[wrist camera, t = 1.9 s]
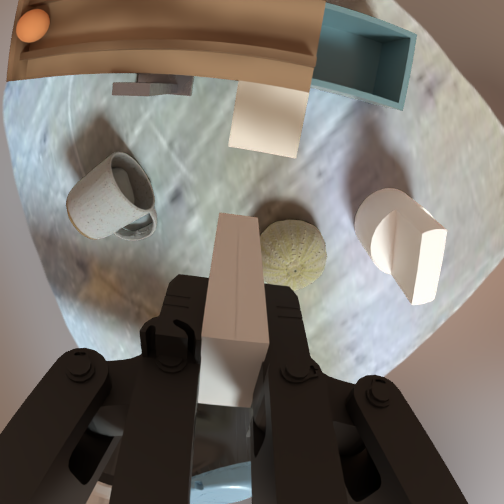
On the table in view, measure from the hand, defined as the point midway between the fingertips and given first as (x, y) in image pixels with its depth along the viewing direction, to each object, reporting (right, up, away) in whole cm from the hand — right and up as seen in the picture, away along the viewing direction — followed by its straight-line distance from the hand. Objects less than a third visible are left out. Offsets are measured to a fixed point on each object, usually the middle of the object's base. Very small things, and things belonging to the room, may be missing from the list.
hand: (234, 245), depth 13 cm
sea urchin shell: (+5, 0, +28) cm, 29 cm away
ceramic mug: (-14, +7, +24) cm, 29 cm away
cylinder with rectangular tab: (+18, +4, +27) cm, 33 cm away
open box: (+10, +21, +17) cm, 29 cm away
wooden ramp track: (-8, +16, +7) cm, 19 cm away
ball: (-18, +19, +4) cm, 26 cm away
